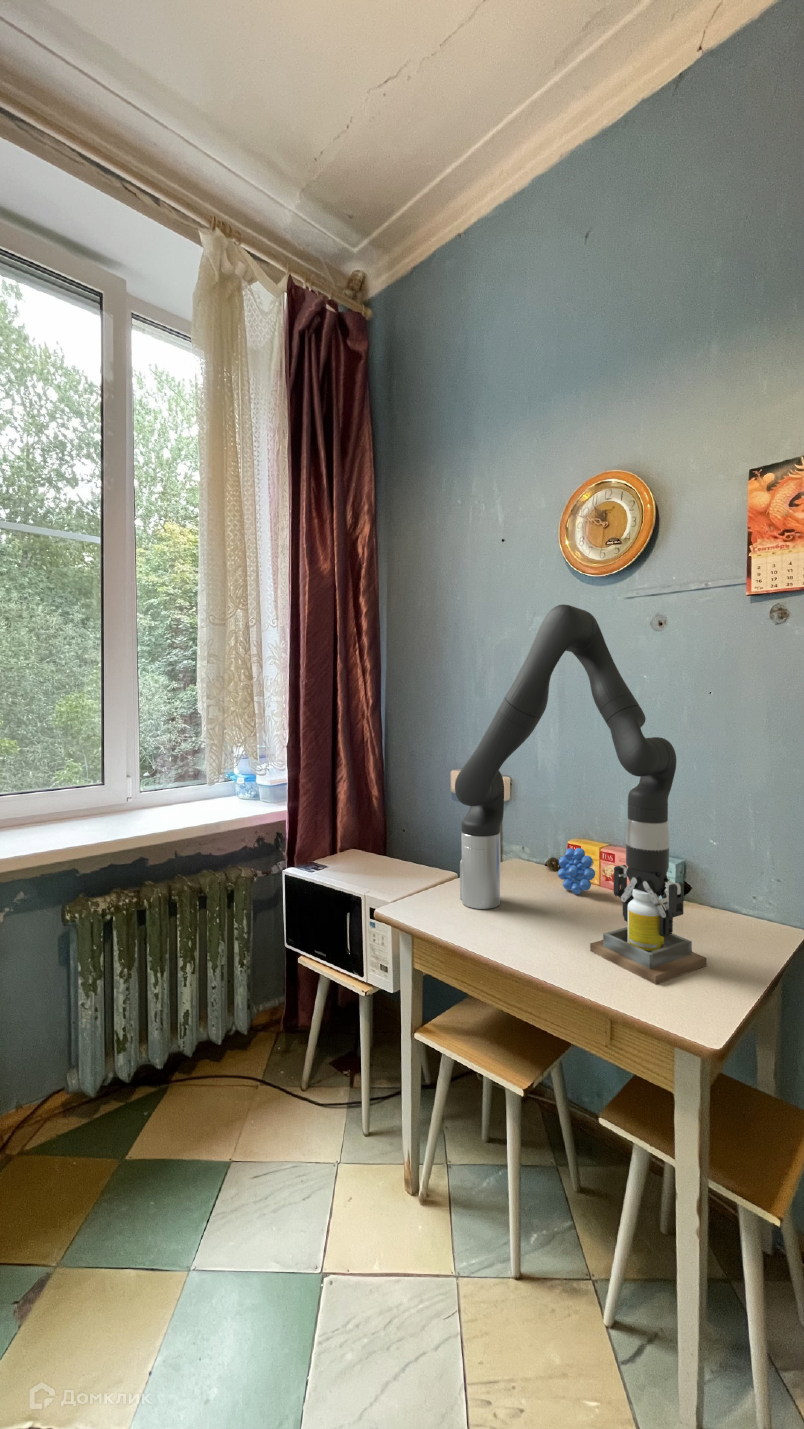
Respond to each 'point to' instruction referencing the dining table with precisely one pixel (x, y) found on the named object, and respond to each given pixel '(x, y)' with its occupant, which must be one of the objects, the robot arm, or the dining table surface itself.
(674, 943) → the collar board
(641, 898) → the pill bottle
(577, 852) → the grapes
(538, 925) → the dining table surface
